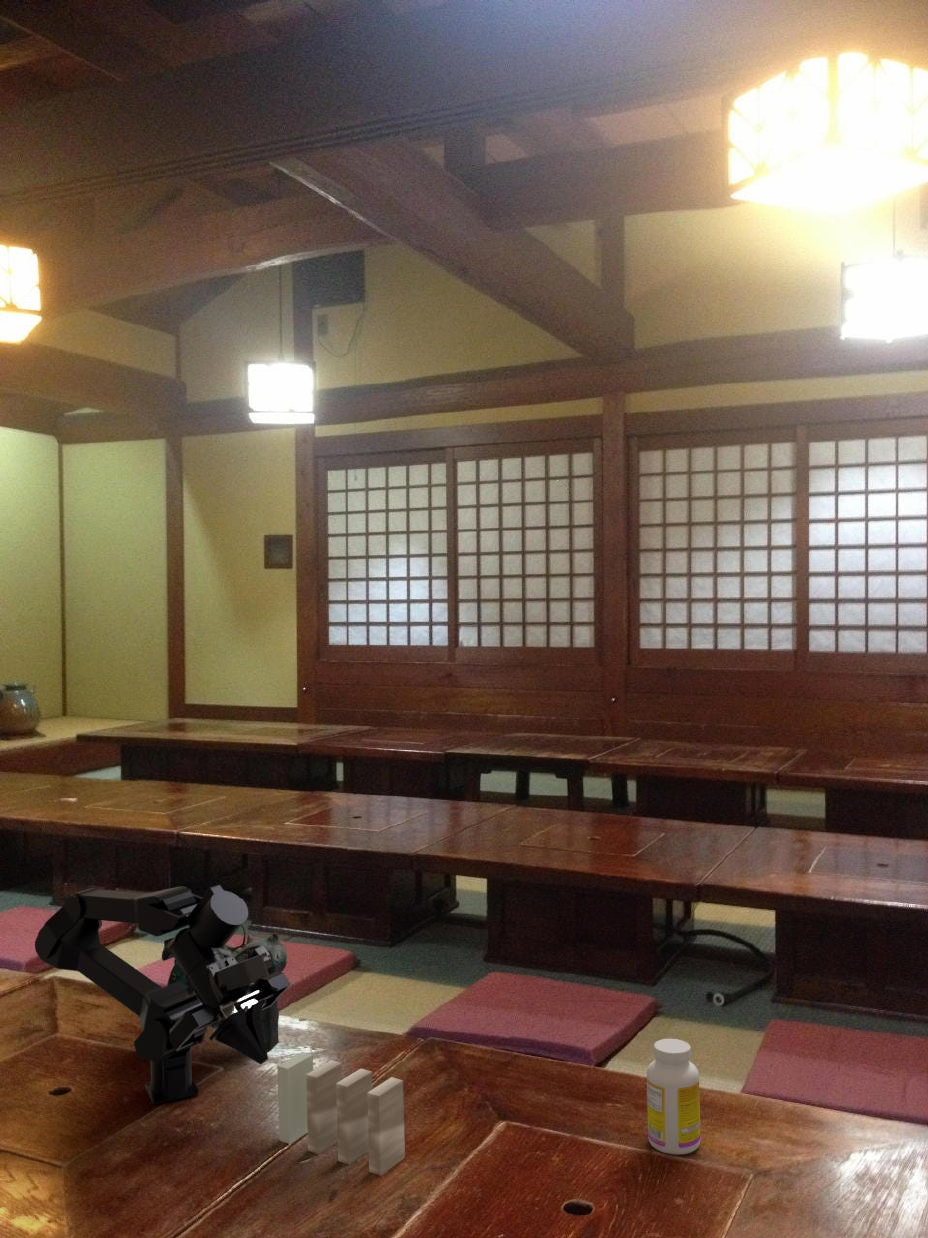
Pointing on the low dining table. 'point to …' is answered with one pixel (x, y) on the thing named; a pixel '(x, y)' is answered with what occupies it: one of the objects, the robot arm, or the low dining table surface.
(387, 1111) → the ivory domino
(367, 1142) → the ivory domino
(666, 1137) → the supplement bottle
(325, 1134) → the ivory domino
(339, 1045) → the low dining table surface
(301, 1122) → the sage domino
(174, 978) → the ceramic cat
